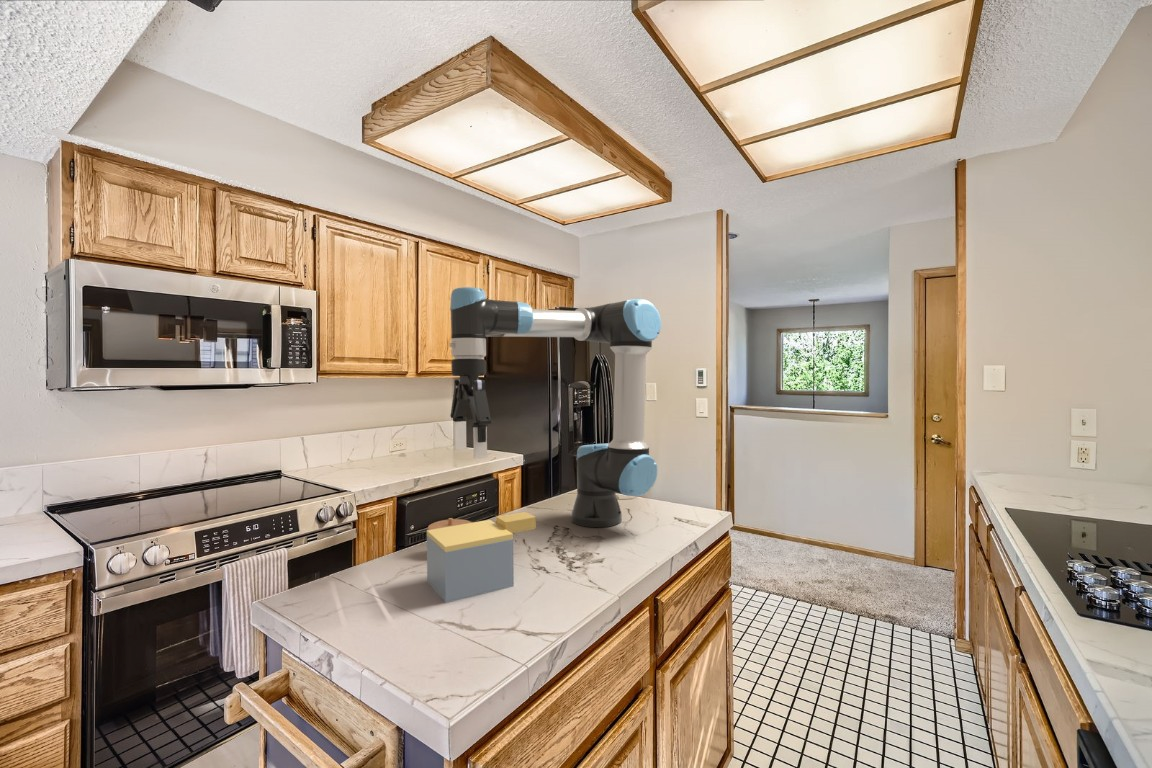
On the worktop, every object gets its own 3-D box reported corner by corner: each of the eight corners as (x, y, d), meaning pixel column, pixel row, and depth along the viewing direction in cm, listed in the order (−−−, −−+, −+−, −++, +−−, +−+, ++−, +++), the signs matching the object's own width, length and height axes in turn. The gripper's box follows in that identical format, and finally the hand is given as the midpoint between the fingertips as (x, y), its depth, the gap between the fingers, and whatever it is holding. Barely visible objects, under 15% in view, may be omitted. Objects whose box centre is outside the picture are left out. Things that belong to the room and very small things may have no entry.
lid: (518, 519, 117) (518, 508, 117) (543, 532, 107) (543, 521, 107) (426, 535, 106) (426, 523, 106) (445, 552, 96) (445, 538, 96)
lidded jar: (462, 566, 118) (461, 526, 117) (419, 563, 120) (419, 523, 120) (480, 550, 128) (479, 513, 128) (440, 548, 130) (440, 511, 130)
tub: (490, 573, 113) (490, 524, 113) (513, 593, 103) (513, 539, 103) (427, 588, 106) (426, 535, 106) (445, 610, 96) (445, 552, 96)
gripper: (436, 359, 123) (437, 447, 123) (470, 356, 101) (472, 463, 102) (466, 359, 126) (467, 445, 127) (506, 356, 105) (507, 459, 105)
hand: (469, 453), depth 114 cm, fingers open, 13 cm apart
